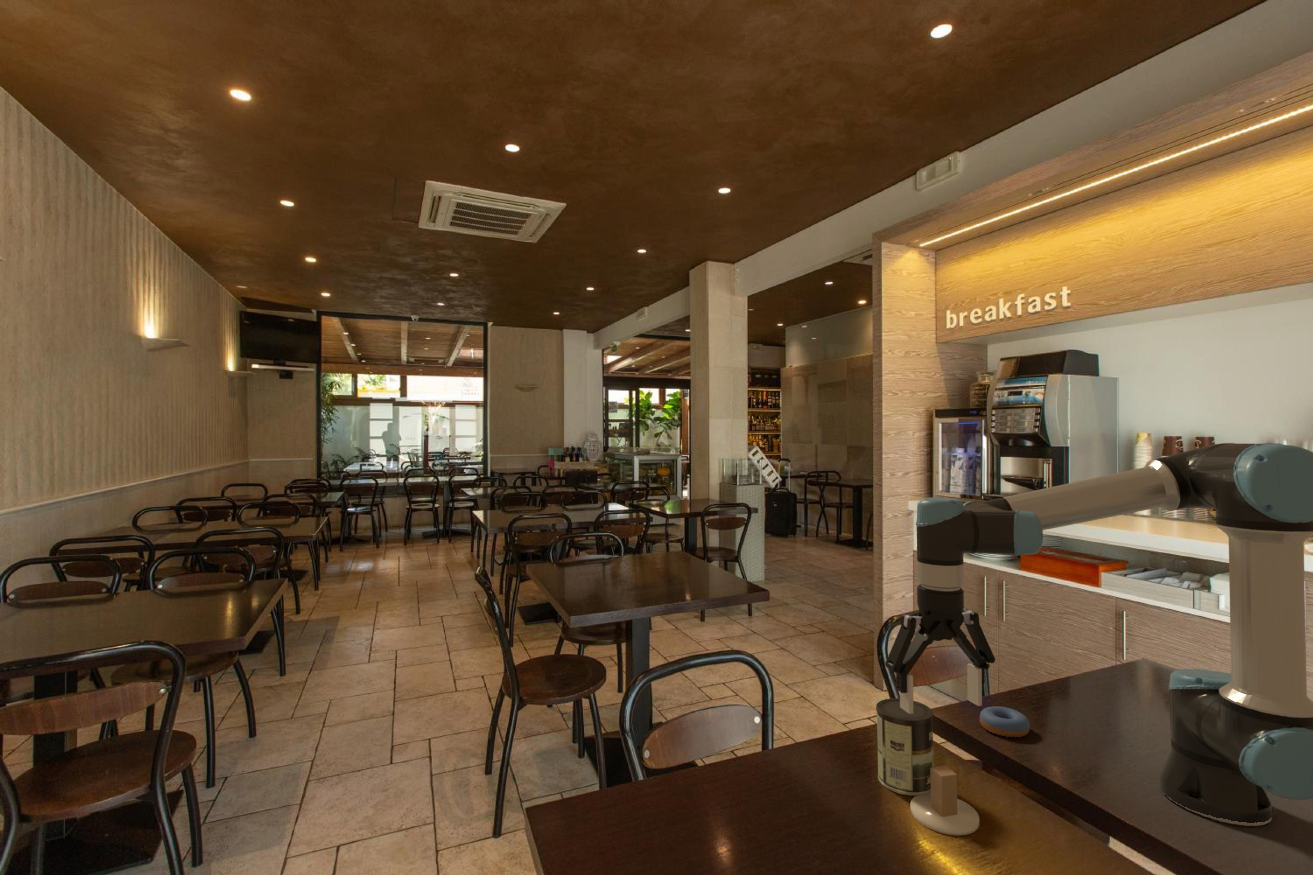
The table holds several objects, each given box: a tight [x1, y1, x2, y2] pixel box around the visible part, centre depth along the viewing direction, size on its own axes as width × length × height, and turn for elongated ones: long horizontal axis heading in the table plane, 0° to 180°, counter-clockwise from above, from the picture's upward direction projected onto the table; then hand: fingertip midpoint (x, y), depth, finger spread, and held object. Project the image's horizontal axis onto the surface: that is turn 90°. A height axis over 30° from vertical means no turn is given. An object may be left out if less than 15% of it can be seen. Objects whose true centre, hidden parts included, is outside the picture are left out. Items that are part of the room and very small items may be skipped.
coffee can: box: [875, 697, 934, 797], centre depth 120 cm, size 10×10×14 cm
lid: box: [909, 765, 980, 836], centre depth 109 cm, size 11×11×8 cm
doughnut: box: [979, 705, 1031, 739], centre depth 141 cm, size 10×10×5 cm
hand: (941, 706), depth 109 cm, fingers open, 13 cm apart
